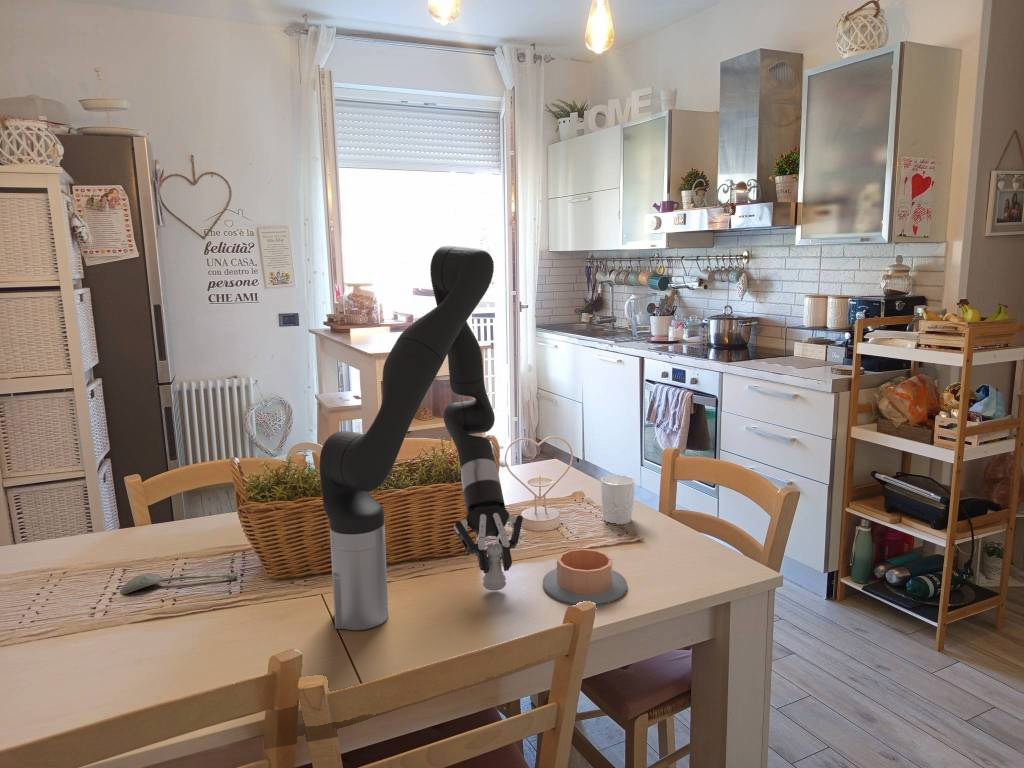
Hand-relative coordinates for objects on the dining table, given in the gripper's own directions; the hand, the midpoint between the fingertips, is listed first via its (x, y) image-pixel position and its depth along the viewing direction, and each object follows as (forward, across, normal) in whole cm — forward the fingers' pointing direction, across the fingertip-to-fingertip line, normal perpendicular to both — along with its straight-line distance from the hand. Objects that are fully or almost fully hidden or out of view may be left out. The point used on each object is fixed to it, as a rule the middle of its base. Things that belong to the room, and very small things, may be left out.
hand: (496, 570), depth 134 cm
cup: (+4, +17, +4) cm, 18 cm away
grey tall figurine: (+2, 0, +4) cm, 5 cm away
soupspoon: (-11, -58, +21) cm, 63 cm away
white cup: (-18, +37, +25) cm, 49 cm away
